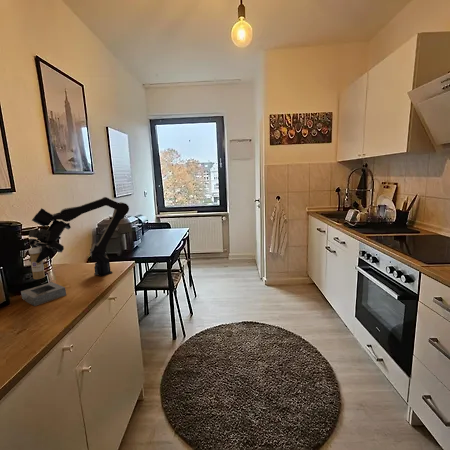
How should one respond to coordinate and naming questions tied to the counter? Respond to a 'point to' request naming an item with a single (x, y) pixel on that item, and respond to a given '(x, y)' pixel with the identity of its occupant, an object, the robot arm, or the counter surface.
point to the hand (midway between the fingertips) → (33, 262)
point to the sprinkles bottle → (36, 267)
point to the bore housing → (43, 293)
